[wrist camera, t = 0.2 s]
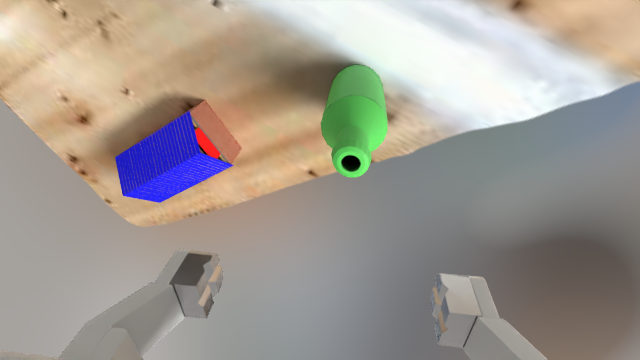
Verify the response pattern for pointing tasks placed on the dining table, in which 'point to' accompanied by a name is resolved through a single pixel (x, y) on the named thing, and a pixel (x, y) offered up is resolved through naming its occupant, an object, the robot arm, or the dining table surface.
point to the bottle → (354, 119)
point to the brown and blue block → (177, 156)
